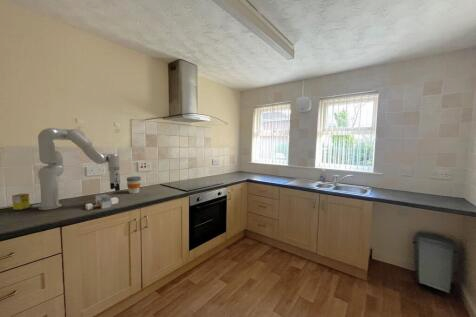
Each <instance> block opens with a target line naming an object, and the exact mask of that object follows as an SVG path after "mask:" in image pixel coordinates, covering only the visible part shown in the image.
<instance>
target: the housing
mask: <svg viewBox="0 0 476 317" xmlns="http://www.w3.org/2000/svg"><path fill="white" fill-rule="evenodd" d="M111 198H112V197H111V196H110V195H108V194H106V193H99V194H95V205H96V204H100V206H99V207H100V209H107V208H111V207H112V204H111Z"/></svg>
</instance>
